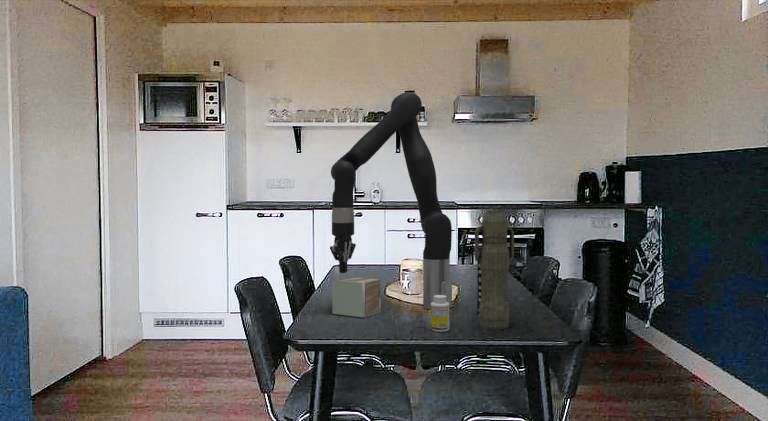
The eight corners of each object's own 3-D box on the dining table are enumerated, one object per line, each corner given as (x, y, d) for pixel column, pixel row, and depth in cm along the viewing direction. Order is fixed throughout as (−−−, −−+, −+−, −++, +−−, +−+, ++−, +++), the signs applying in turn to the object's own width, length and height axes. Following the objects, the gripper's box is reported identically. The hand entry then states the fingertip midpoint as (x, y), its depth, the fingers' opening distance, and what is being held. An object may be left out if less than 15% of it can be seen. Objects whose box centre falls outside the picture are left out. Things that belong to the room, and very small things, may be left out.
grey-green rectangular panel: (366, 316, 214) (366, 268, 213) (363, 317, 213) (363, 269, 212) (334, 312, 220) (334, 266, 220) (331, 313, 219) (331, 266, 218)
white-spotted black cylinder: (487, 319, 211) (487, 256, 210) (472, 314, 218) (472, 254, 217) (508, 316, 215) (508, 255, 214) (492, 311, 222) (492, 252, 221)
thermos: (518, 328, 198) (519, 211, 196) (481, 330, 195) (481, 212, 194) (506, 322, 207) (507, 210, 205) (471, 323, 204) (471, 210, 202)
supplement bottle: (438, 327, 200) (437, 293, 199) (453, 329, 196) (453, 295, 196) (427, 330, 196) (426, 296, 195) (442, 333, 192) (442, 298, 192)
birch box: (380, 312, 223) (380, 279, 222) (364, 317, 214) (364, 283, 214) (351, 308, 229) (350, 277, 228) (334, 313, 220) (334, 281, 220)
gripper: (341, 222, 213) (342, 275, 214) (362, 220, 225) (363, 270, 226) (322, 221, 217) (322, 274, 218) (344, 219, 228) (344, 269, 229)
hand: (343, 272), depth 222 cm, fingers closed
